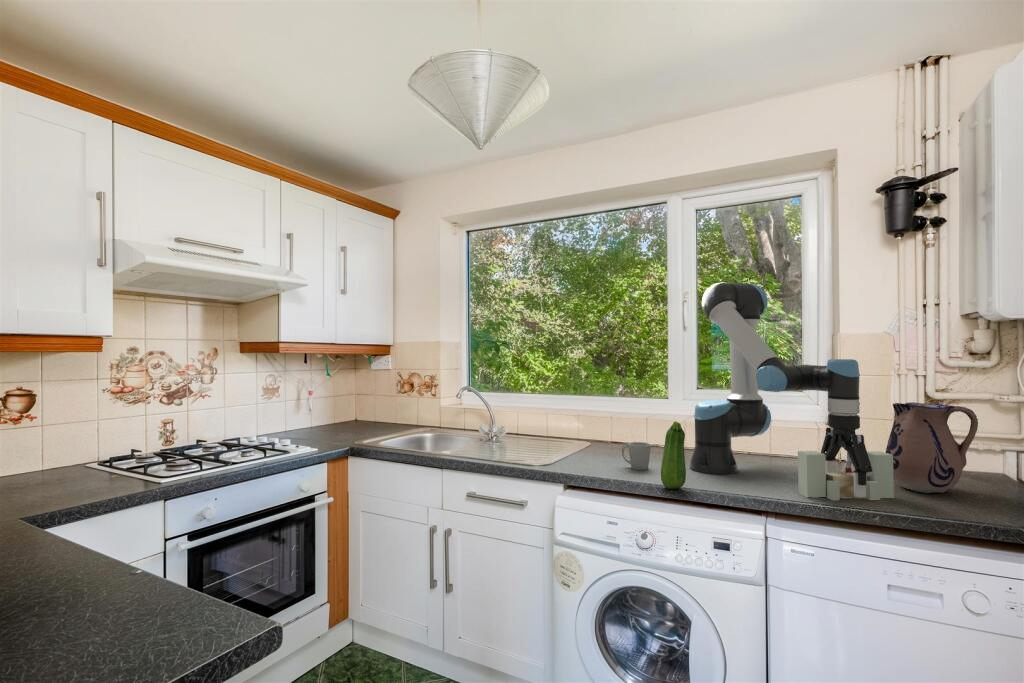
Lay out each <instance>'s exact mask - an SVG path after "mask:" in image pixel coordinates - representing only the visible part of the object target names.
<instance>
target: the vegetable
mask: <svg viewBox="0 0 1024 683" xmlns="http://www.w3.org/2000/svg"><path fill="white" fill-rule="evenodd" d="M685 437H686V433H685V431H684V429H683V427H682V424H681V423H680V422H678V421H675V420H674V422H672V425H671V426H670V427H669V428H668V429H667V430H666V433H665V440H664V446H663V447H664V448H663V453H662V460H661V467H660V480H661V483H662V486H664V487H665V488H666V489H669V490H674V489H675V490H676V489H680V488H682V487H683V486H684V485H685V483H686V478H687V470H686V456H685V439H686V438H685Z"/></svg>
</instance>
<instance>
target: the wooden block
mask: <svg viewBox="0 0 1024 683" xmlns="http://www.w3.org/2000/svg"><path fill="white" fill-rule="evenodd" d="M827 481H838V482H839V486H840V497H853V498H852V499H867V492H866V497H855V496H854V473H844V472H836V473H826V497H827ZM866 481H870V476H867V475H866Z"/></svg>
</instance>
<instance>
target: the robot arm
mask: <svg viewBox="0 0 1024 683" xmlns="http://www.w3.org/2000/svg"><path fill="white" fill-rule="evenodd" d="M709 286H710V285H709ZM701 299H702V300H701V307H702V310H703V312H704V315H705V316H706V318H707V319H708V321H710V322H711V323H712V324H715V325H717V326H718V327H719V328H720V329H721V332H723V333H724V335H725V336H726V338H728V340H729V353H730V354H729V355H730V356H729V359H730V392H731V393H730V394H729V395H727V397H726V399H711V400H710V399H708V400H704V401H701V402H698V403H696V405H695V407H694V414H693V418H694V448H693V450H692V454H691V457H690V460H689V468H690V469H691V470H693V471H696V472H700V473H703V474H704V473H705V474H712V475H713V474H714V475H729V474H734V473H735V474H736V472H738V463H737V461H736V457H735V455H734V453H733V448H732V438H740V437H741V438H742V437H749V438H752V437H756V436H761V435H763V434H764V433H765V432H766V431H768V429H769V428H770V426H771V422H772V413H771V411H770V409H769V406H768V405H766V404H765V403H764V402H763V401H764V398H763V397H762V396H761V395H760V394H759V392H758V391H759V389H760V390H762V391H764V392H771V393H772V392H773V393H780V392H797V391H798V392H800V391H801V392H802V391H803V392H804V391H815V392H817V391H819V392H827V412H828V413H829V414H828V415H827V425H828V427H826V428H825V436H824V439H823V444H822V446H821V450H820V453H822V454H825V457H826V473H837V458H836V457H837V455H838V453H839V452H840V450H841V448H842V449H844V451H846V453H847V452H848V454H849V457H850V459H851V464H852V466H853V468H854V470H852V471H853V472H854V496H855V497H866V473H868V472H872V467H871V463H870V460H869V457H868V454H867V447H866V445H865V444H866V443H865V436H864V435H863V434H857V433H856V431H857V430H859V429H860V428H861V417H860V415H858V414H860V413H861V411H860V405H861V403H860V377H861V375H860V369H859V362H858V361H857V360H856V359H853V358H851V359H849V358H848V359H845V358H844V359H843V358H840V359H839V358H834V359H833V358H831V359H828V360H827V364H826V365H818V364H817V365H816V364H798V365H786V364H785V363H784V362H783V361H782V360H781V358H779V357H778V356H777V354H776V353H775V352H774V350H772V349H771V347H770V346H769V345H768V344H767V343H766V342H765V341H764V339H762V337H761V336H760V335H759V334H758V332H757V324H759V323H760V321H761V316H762V315H763V314H765V312H766V310H767V308H768V302H769V301H768V296H767V293H766V292H765V290H764V289H763V288H762V287H761V286H760V285H757V284H754V283H753V284H752V283H748V282H746V283H743V282H717V283H714V284H712V285H711V286H710V287H708V288H706V290H705V292H704V293H703V296H702V298H701ZM758 388H759V389H758ZM866 466H867V467H866Z"/></svg>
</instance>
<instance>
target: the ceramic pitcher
mask: <svg viewBox="0 0 1024 683" xmlns="http://www.w3.org/2000/svg"><path fill="white" fill-rule="evenodd" d="M892 407H893V411H894V414H893V415H894V417H893V423H892V427H891V431H890V434H889V437H888V440H887V445H886V448H885V453H888V454H891V455H893V481H894V482H895V483H896V484H898V485H899V487H900V486H901V487H902V488H905V489H907V490H909V489H910V491H913V490H914V492H919V493H925V494H926V493H927V494H931V493H936V494H937V493H940V494H941V493H943V494H944V493H946V492H947V491H949V490H950V489H953V487H955V486H956V485H957V484H958V482H959V481H960V479H961V477H962V473H963V470H964V469H965V467H966V465H967V464H968V463H967V455H966V454H967V451H968V450H969V448H970V446H971V444H972V442H973V441H974V439H975V436H976V434H977V432H978V427H979V421H978V420H979V419H978V417H977V415H976V413H975V412H974V411H973V410H972V409H970V408H968V407H966V406H959V405H956V406H954V405H949V404H943V403H941V404H940V403H927V402H926V403H923V402H914V401H912V402H911V401H910V402H905V403H900V402H898V403H897V402H895V403H892ZM956 412H957V413H958V412H960V413H962V414H965V415H966V416H967V417H968V418H969V420H970V426H969V431H968V432H967V435H966V436H965V438H964V440H963V441H961V443H958V442H957V441H956V440H955V438H954V436H953V433H952V430H951V429H950V427H949V424H948V421H949V418H950V416H951V415H952V414H953V413H956Z"/></svg>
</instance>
